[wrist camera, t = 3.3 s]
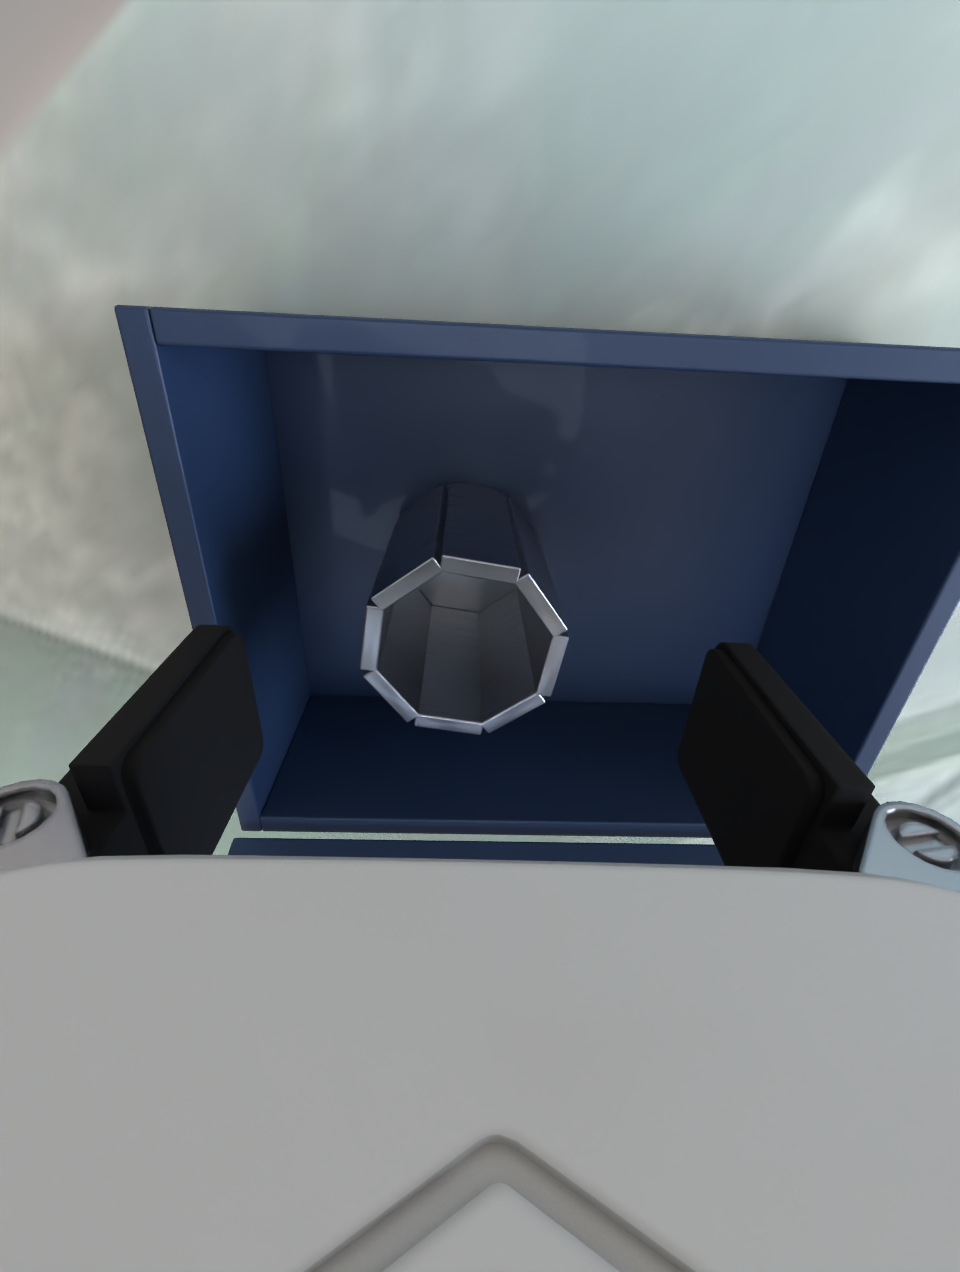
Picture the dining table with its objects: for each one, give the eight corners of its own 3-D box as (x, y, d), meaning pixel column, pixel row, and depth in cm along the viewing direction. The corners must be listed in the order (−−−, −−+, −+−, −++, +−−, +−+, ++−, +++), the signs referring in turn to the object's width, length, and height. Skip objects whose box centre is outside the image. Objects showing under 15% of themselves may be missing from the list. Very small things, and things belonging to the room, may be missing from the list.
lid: (-257, 2213, 5) (-10, 1882, 8) (1525, 2074, 6) (1170, 1812, 9) (232, 836, 15) (265, 903, 18) (847, 845, 16) (787, 909, 19)
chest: (245, 311, 15) (111, 304, 10) (867, 343, 16) (1092, 354, 10) (300, 697, 22) (241, 831, 16) (740, 708, 22) (834, 840, 17)
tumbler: (366, 535, 18) (319, 632, 12) (482, 452, 17) (490, 517, 11) (449, 635, 20) (442, 760, 14) (559, 567, 19) (599, 674, 13)
